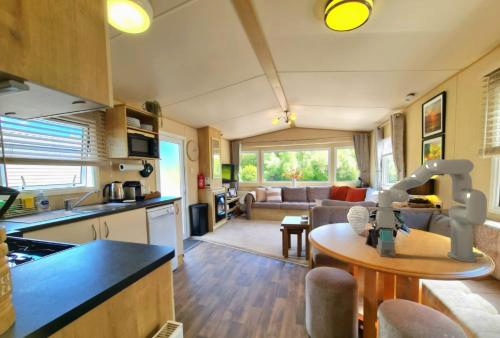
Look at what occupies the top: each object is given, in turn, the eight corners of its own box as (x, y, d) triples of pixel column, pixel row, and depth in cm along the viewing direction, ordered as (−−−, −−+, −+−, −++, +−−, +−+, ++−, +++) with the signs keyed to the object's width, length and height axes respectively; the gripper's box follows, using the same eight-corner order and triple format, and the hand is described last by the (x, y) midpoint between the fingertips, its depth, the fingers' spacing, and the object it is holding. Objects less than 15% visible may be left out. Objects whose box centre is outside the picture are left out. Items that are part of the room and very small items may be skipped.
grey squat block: (390, 246, 136) (390, 238, 136) (394, 250, 129) (394, 242, 129) (378, 245, 138) (378, 237, 138) (381, 249, 131) (381, 241, 131)
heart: (369, 241, 159) (368, 211, 158) (346, 237, 166) (346, 209, 166) (369, 230, 183) (369, 205, 182) (349, 228, 191) (349, 203, 190)
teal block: (388, 238, 135) (388, 229, 135) (391, 241, 131) (391, 231, 131) (380, 238, 137) (380, 228, 137) (382, 240, 132) (382, 231, 132)
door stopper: (382, 247, 146) (382, 230, 145) (375, 248, 144) (375, 231, 144) (372, 243, 154) (372, 226, 154) (365, 244, 153) (365, 227, 153)
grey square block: (390, 253, 137) (390, 245, 137) (395, 258, 129) (395, 250, 129) (376, 252, 139) (376, 244, 139) (380, 257, 131) (380, 249, 131)
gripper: (398, 208, 135) (399, 235, 135) (368, 207, 140) (368, 233, 140) (403, 211, 127) (404, 239, 128) (371, 210, 132) (372, 237, 133)
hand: (385, 236), depth 134 cm, fingers open, 9 cm apart
